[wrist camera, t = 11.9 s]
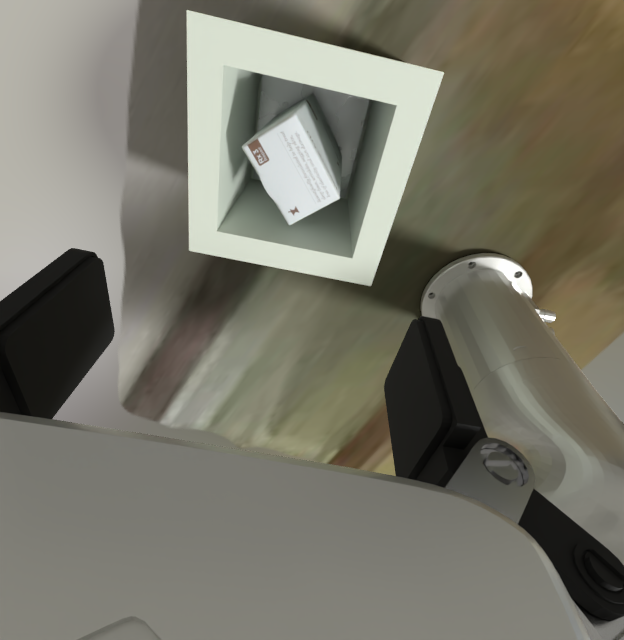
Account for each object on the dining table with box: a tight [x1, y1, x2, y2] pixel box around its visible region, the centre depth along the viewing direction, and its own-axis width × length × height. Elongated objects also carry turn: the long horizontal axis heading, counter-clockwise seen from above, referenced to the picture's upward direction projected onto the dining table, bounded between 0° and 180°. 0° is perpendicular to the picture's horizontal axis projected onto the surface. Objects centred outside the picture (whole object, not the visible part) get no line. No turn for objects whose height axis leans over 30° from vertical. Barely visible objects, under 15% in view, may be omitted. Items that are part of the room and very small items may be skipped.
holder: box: [187, 10, 444, 286], centre depth 29 cm, size 14×14×14 cm
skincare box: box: [242, 93, 342, 225], centre depth 29 cm, size 6×4×12 cm
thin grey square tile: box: [253, 74, 370, 198], centre depth 34 cm, size 9×9×1 cm
